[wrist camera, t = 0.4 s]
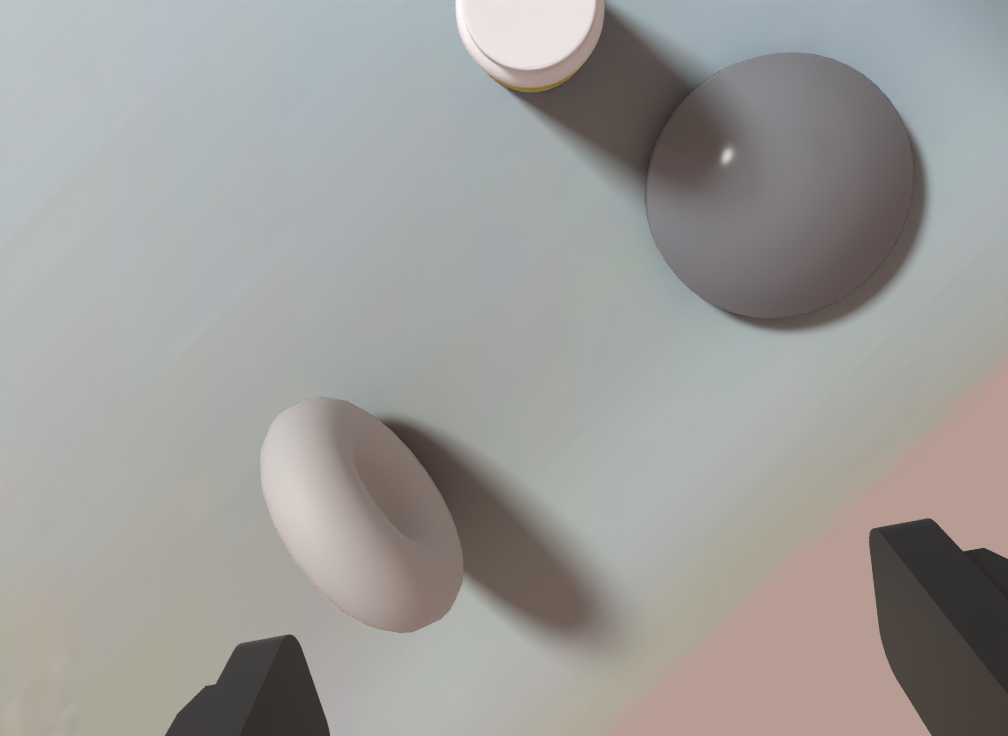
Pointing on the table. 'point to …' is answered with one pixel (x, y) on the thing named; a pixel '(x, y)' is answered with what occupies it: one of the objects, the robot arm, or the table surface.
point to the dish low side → (779, 185)
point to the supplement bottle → (530, 39)
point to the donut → (361, 515)
